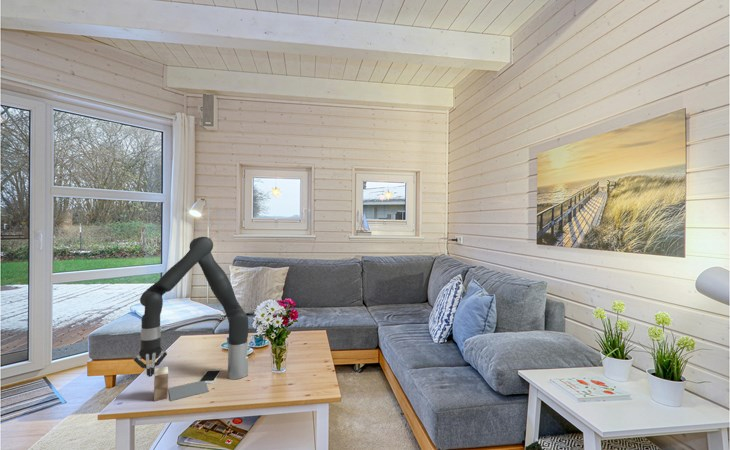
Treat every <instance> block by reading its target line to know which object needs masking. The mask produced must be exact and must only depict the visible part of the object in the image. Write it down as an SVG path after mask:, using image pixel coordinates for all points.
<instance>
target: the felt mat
mask: <svg viewBox="0 0 730 450" xmlns="http://www.w3.org/2000/svg"><path fill="white" fill-rule="evenodd" d="M209 392H210V390H209V387H208V385H207V384H206V382H205V381H200V380H198V381H194V382H189V383H184V384H180V385H176V386H171V387H168V393H169V401H170V402H173V401H176V400H180V399H185V398H189V397H193V396H197V395H200V394H201V395H202V394H206V393H209Z"/></svg>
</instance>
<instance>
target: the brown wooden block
mask: <svg viewBox="0 0 730 450" xmlns="http://www.w3.org/2000/svg"><path fill="white" fill-rule="evenodd" d="M153 385H154V387H153V401H154V402H156V401H162V400H166V399H168V393H169V387H168V386H169V367H168V366H163V367H158V368H156V367H155V368H154V381H153Z"/></svg>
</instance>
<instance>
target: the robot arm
mask: <svg viewBox="0 0 730 450" xmlns="http://www.w3.org/2000/svg"><path fill="white" fill-rule="evenodd" d="M213 248H214V243H213V241H212V239H211V238H210V237H208V236H199V237H195V238H193V239H192V240H191V241H190V243H189V250H188V251H187V253H186V254H185V255H184V256H183V257H182V258H181V259H179V261H177V262H176V263H175V264H173V266H171V267H170V268H169V269H168V270H167V271H166V272H164V274H163V275H162V276H161V277H160V278H159V280H158V281H156V282H155V283H153V284H152V285H151V286H150V287H148V288H147V289H146V290H145V291H144V292H143V293H142V294H141V296H140V298H139V301H140V304H141V305H142V306H143V307H144V313H143V315H142V317H141V329H140V330H141V331H140V350H139V353H138V355H136V356H134V357H133V361H134V362H135V363H136V364H137V365H138V366H139V367H141V368H142V369H146V376H147V377H149V378H150V377H153V376H155V368H156V367H157V366H159V365H160V364H161V363H162V362H163V360H164V359H165V358H166V356H167V355H168V352H167V351H164V350H163V349H162V345H161V343H162V341H161V339H162V337H161V336H162V331H161V329H162V328H161V314H162V309H163V305H164V304H163V303H164V302H163V301H164V300H163V295H164V294H166V293H168V292H171V291H172V290H173V289H174V288H175V287H176V286H177V285H178V284H179V282H180V281H181V280H182V279H183V278H184V277H185V276H186V275H187V274H188V272H190V270H191V269H193V267H194V266H195V265H196V264H198V265H199V266H200V268H201V271H202V273H203V275H204V277H205V280H206V281H207V283H208V286H209V287H210V289H211V292H212V293H213V295H214V296H215V298H216V299H217V301H218V302H219V303H220V304H221V306H222V308H223V311H224V312H225V316H226V317H227V320H228V321H227V322H228V342H227V343H228V346H227V348H228V350H227V378H228V379H230V380H240V379H243V378H245V377H247V376H249V356H248V336H249V317H248V315H247V314H246V313H247V312H246V311H245V310H244V309H243V307H242V306H241V305H240V303H239V301H238V300H237V297H236V294H235V290H234V287H233V286H232V283H231V281H230V279H229V277H228V275H227V274H226V272H225V270H223V268H222V267H221V265H219V264H218V263H217V262H216V260H215V258H214V256H213V254H212V250H213ZM141 359H142V360H143V361H145V362H146V363H145V362H143V361H142V360H141ZM150 361H151V362H150Z"/></svg>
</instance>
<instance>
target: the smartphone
mask: <svg viewBox="0 0 730 450" xmlns="http://www.w3.org/2000/svg"><path fill="white" fill-rule="evenodd" d="M222 370H223V369H221V368H220V369H219V368H218V369H216V368H215V369H207V371H205V373H204V374H203V375H202V376H201V378H200V379H199V381H205V382H206V384H208V385H209V384H213V383H215V381H216V380H217V378H218V377H219V375H220V374H221V372H222Z"/></svg>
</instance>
